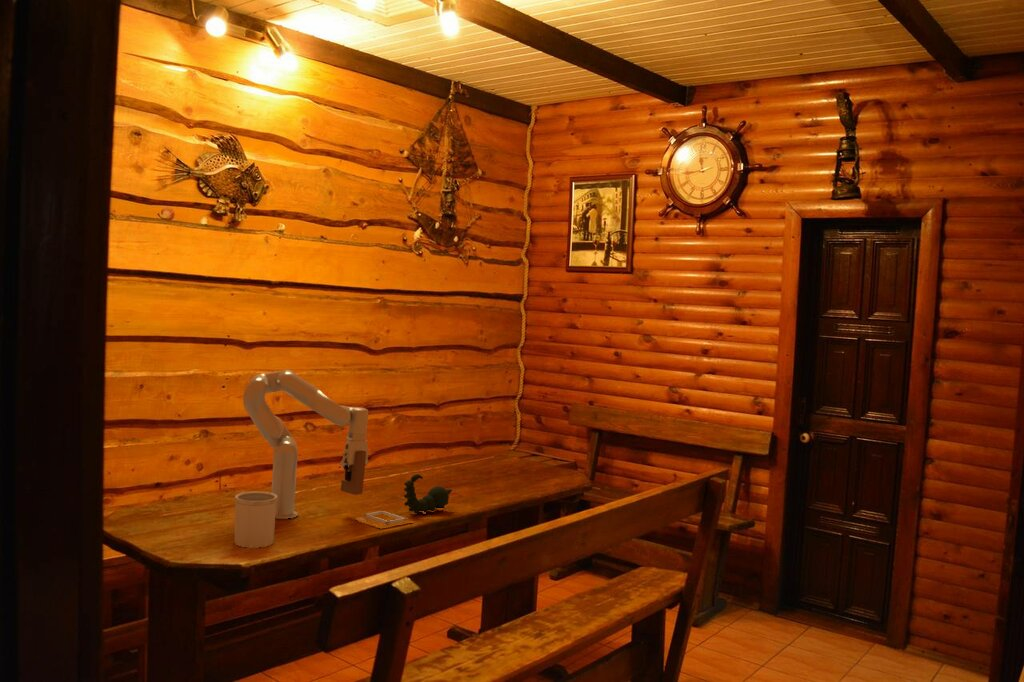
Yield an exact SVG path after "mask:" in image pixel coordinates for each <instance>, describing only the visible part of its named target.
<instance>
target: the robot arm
mask: <svg viewBox="0 0 1024 682" xmlns="http://www.w3.org/2000/svg"><path fill="white" fill-rule="evenodd" d="M281 391H282V392H284V393H286V394H287V395H288V396H290V397H291V398H294V399H295V400H296V401H298V402H299V403H301V404H302V405H305V407H307V408H309V409H310V410H312V411H314V412H315V413H317V414H319V415H320V416H322V417H323V418H325V420H328V421H329V422H331V423H332V424H334V425H336V426H339V427H344V426H346V425H348V432H347V433H348V434H346V437H345V438H346V441H345V443H344V449H343V455H342V459H341V461H340V463H339V465H340V466H341V467H342V468H343V470H344V471H345V472H344V480H347V481H351V472H350V471H351V467H352V465H354V464H355V454H356V452H357V451H365V452H366V461H365V466H367V465H368V463H369V460H368V458H369V447H368V440H367V431H368V421H369V420H368V419H369V409H367V408H365V407H351V406H347V405H340V404H338V403H337V402H335V401H334V400H332V399H330V398H329V397H328V396H327V395H325V393H323V392H322V390H320V389H319V388H318V387H317V386H314V385H313V384H312V383H310V382H308V381H306V380H305V379H303V378H302V377H300V375H299V376H298V375H297V374H296V373H295V372H294V371H292V370H290V369H284V370H283V369H282V370H279V371H273V372H272V371H271V372H265V373H259V374H256V375H253V376H252V377H251V378H250V380H249V381H248V383H247V385H246V387H245V389H244V392H243V394H242V395H243V396H242V402H243V406H244V409H245V411H246V413H247V414H248V417H250V419H251V420H252V422H253V424H254V425H255V427H256V428H257V430H258V432H259V433H260V435H261V437H262V438H263V439H264V440H265V441H267V443H268V445H269V446H270V447H271V449H272V450H273V455H272V456H273V457H272V460H273V461H272V474H271V475H272V476H271V477H272V478H271V492H270V493H274V494H276V495H277V501H276V514H275V518H276V519H275V520H289V519H288V518H291V519H295V518H297V517H298V516H299V515H298V513H299V512H297V511H296V510H295V501H296V499H295V498H296V488H297V487H296V486H297V485H296V483H297V470H298V469H297V467H298V455H299V449H298V444H297V441H296V440H295V438H294V437H293V435H292V434H291V433H290V430H288V428H287V426H286V425H285V423H284V421H283V420H282V419H281V418H280V417H278V416H277V415H275V414H274V412H273V410H272V409H271V408H270V406H269V405H268V403H267V401H266V399H265V398H266V395H267V394H271V393H277V392H281ZM297 515H298V516H297ZM296 516H297V517H296ZM294 517H295V518H294Z"/></svg>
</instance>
